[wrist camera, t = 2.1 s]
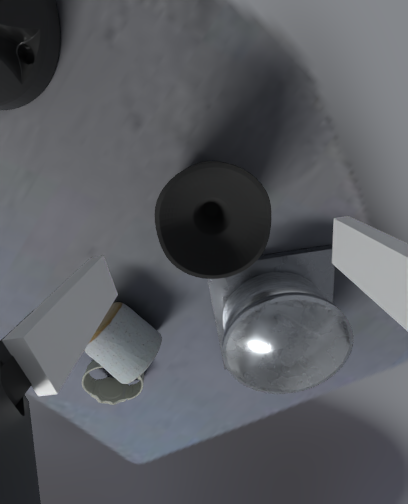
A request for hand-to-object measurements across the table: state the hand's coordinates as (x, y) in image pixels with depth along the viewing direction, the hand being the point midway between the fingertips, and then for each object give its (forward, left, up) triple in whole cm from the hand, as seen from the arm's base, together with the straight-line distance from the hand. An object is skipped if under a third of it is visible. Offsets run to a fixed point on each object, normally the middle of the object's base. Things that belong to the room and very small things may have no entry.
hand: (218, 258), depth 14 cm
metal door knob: (+17, +6, -15) cm, 23 cm away
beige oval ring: (+24, -19, -16) cm, 35 cm away
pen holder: (0, 0, -16) cm, 16 cm away
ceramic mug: (+16, -16, -16) cm, 27 cm away
